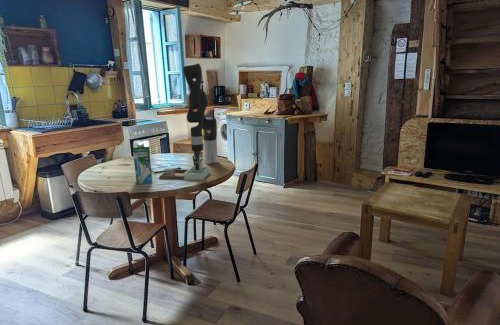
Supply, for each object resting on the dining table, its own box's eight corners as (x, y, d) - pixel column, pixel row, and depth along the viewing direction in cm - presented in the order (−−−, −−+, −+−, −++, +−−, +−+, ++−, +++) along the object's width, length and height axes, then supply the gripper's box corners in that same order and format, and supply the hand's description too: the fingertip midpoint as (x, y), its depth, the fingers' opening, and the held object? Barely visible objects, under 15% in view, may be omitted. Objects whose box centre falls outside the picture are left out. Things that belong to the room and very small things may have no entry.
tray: (169, 172, 233) (168, 169, 233) (192, 173, 231) (191, 169, 230) (159, 179, 218) (159, 175, 218) (184, 180, 216) (183, 176, 215)
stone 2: (196, 168, 227) (195, 161, 226) (203, 168, 226) (202, 161, 225) (194, 170, 222) (193, 163, 221) (200, 170, 222) (200, 163, 220)
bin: (192, 173, 230) (192, 166, 229) (209, 173, 229) (209, 167, 227) (184, 180, 215) (183, 173, 214) (202, 180, 213) (202, 173, 212)
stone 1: (168, 174, 228) (167, 167, 226) (174, 174, 227) (174, 167, 226) (165, 176, 223) (165, 169, 222) (172, 176, 222) (171, 169, 221)
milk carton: (136, 185, 208) (132, 143, 202) (137, 181, 217) (133, 141, 211) (152, 183, 210) (148, 142, 204) (152, 179, 219) (148, 140, 213)
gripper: (194, 141, 227) (196, 166, 232) (187, 145, 214) (189, 172, 218) (205, 141, 226) (207, 166, 230) (199, 145, 213) (200, 172, 217)
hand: (198, 169), depth 224 cm, fingers closed on stone 2, 4 cm apart
